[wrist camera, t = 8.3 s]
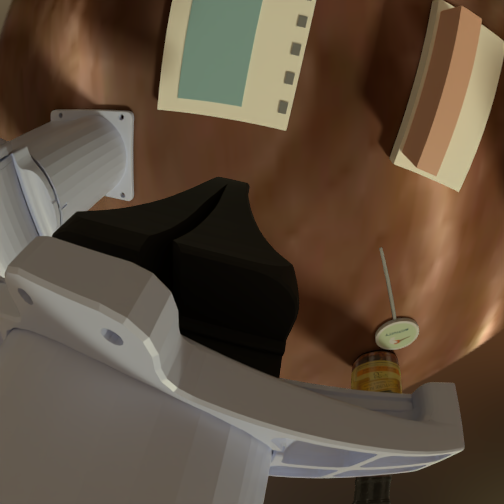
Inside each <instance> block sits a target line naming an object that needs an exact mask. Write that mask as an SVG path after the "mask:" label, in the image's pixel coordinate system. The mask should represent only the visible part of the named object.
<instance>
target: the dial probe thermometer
mask: <svg viewBox="0 0 504 504" xmlns="http://www.w3.org/2000/svg"><path fill="white" fill-rule="evenodd" d="M379 249H380V254H381V258H382V263H383V268H384V273H385V278H386V283H387V288H388V294H389V299H390V305H391V310H392V316H393V320H391V321H388V322H386V323H385V324H383V325H382V326H381V327H380V328H379V329H378V330H377V332H376V334H375V339H376V343H377V345H378V346H379V347H381V348H383V349H387V350H395V349H400V348H403V347H405V346H407V345H409V344H411V343H412V342H413V341H414V340H415V339H416V338H417V336H418V334H419V327H418V324H417V323H416V321H414V320H413V319H410V318H397V319H396V313H395V307H394V301H393V295H392V290H391V285H390V280H389V275H388V270H387V266H386V262H385V258H384V254H383V250H382V247H381V248H379Z"/></svg>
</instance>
